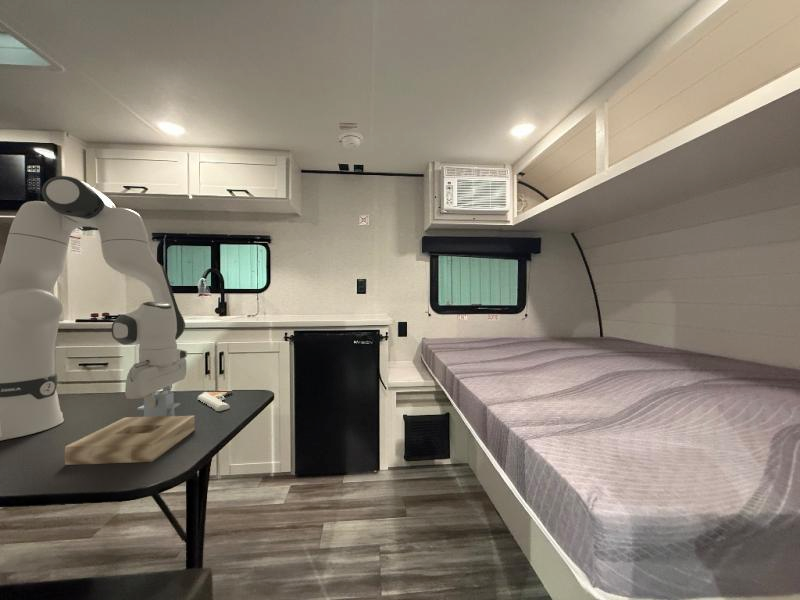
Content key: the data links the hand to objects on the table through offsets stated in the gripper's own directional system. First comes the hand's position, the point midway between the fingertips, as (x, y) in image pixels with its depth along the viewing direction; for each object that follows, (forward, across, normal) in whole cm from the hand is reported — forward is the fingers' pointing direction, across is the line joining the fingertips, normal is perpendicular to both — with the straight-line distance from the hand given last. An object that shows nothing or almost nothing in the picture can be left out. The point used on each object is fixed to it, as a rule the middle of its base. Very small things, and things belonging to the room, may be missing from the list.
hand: (158, 403), depth 90 cm
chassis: (+5, -15, -5) cm, 17 cm away
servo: (+5, 0, 0) cm, 5 cm away
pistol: (+6, +17, -10) cm, 20 cm away
